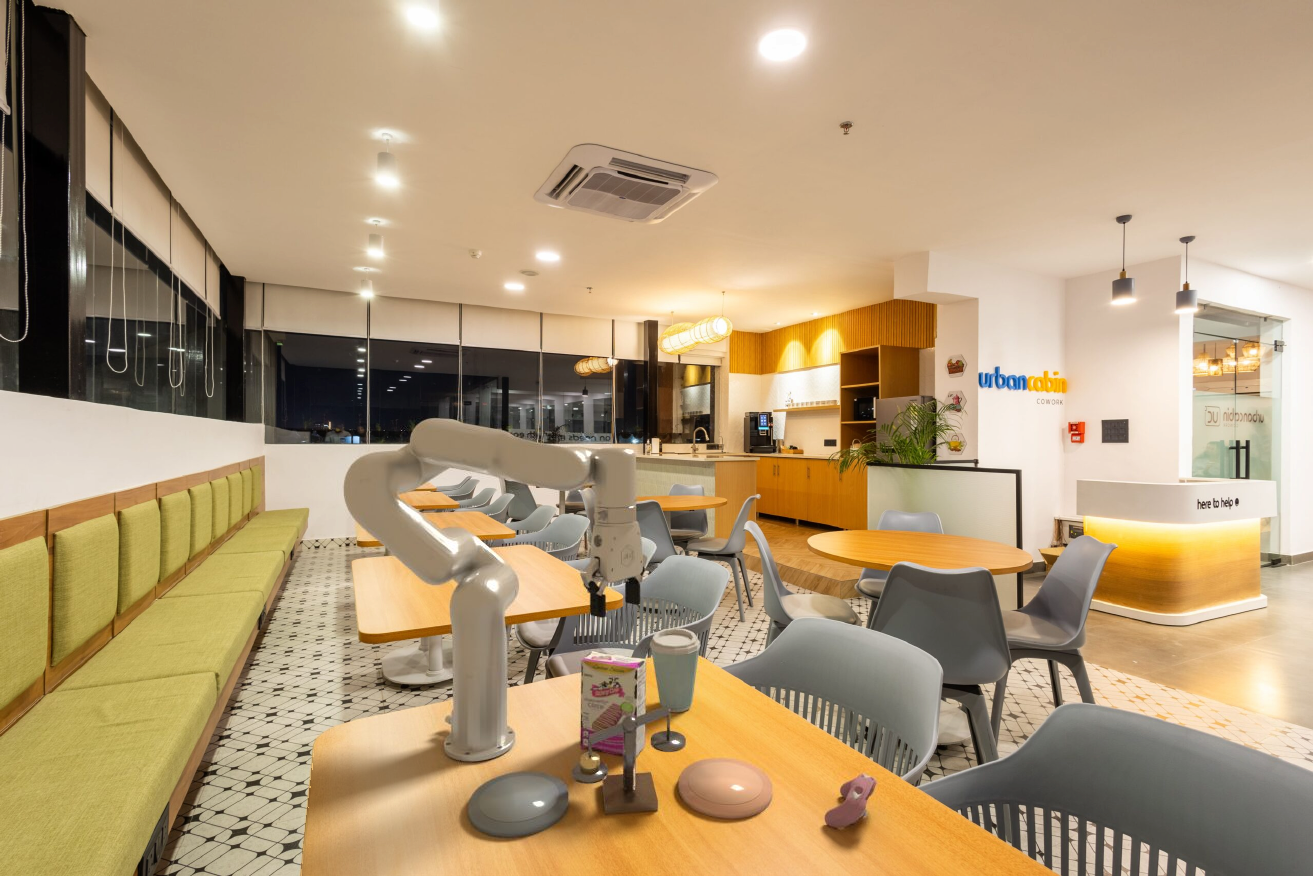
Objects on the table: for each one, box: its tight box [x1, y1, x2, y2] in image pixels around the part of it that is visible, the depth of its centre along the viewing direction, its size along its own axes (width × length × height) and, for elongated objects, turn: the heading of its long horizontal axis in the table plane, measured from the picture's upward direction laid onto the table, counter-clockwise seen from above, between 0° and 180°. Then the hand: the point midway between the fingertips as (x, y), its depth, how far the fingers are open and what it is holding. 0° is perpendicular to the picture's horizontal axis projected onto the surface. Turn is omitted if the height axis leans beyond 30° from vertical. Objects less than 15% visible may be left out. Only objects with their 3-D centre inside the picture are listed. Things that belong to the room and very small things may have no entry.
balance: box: [571, 705, 687, 816], centre depth 98 cm, size 18×8×14 cm, turn 98°
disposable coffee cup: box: [649, 627, 701, 713], centre depth 130 cm, size 11×11×15 cm
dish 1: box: [467, 770, 570, 839], centre depth 95 cm, size 15×15×1 cm
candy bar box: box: [579, 650, 647, 758], centre depth 113 cm, size 11×5×16 cm, turn 71°
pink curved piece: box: [824, 772, 878, 829], centre depth 93 cm, size 10×5×7 cm, turn 148°
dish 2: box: [678, 757, 773, 820], centre depth 100 cm, size 15×15×1 cm
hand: (615, 609), depth 113 cm, fingers open, 9 cm apart
